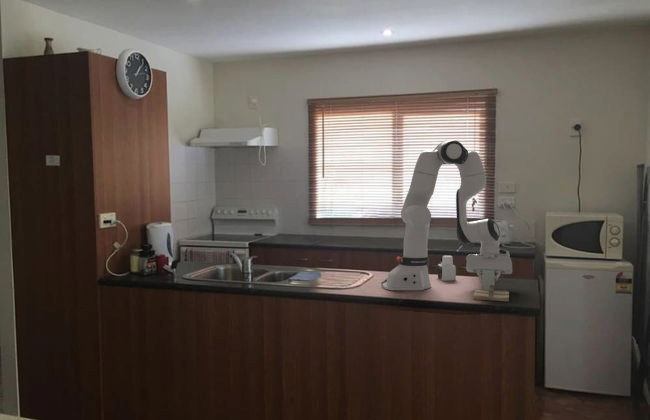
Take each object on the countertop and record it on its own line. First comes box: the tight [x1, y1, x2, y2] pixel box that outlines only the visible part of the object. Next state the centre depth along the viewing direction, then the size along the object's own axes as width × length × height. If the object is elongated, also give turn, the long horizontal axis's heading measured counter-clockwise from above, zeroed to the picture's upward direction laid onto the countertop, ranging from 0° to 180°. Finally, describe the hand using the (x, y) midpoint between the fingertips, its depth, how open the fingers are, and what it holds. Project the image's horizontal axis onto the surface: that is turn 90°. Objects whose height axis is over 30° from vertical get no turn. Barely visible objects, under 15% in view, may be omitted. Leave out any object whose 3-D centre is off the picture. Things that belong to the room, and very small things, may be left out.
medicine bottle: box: [437, 254, 457, 282], centre depth 278 cm, size 7×7×12 cm
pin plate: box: [473, 284, 510, 302], centre depth 238 cm, size 14×14×4 cm
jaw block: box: [481, 270, 496, 290], centre depth 251 cm, size 5×5×9 cm
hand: (488, 279), depth 251 cm, fingers closed on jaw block, 5 cm apart
